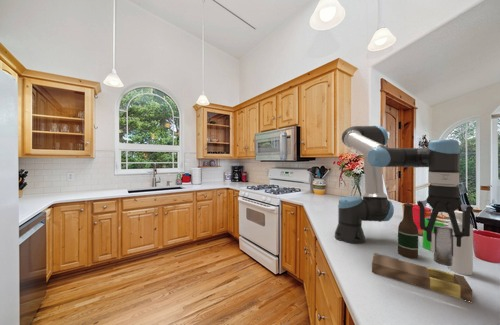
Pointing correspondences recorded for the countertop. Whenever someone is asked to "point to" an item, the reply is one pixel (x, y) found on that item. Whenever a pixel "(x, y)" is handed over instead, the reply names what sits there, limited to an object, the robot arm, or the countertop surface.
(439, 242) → the peg
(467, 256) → the white bottle
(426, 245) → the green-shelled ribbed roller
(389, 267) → the rail
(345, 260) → the countertop surface
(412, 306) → the countertop surface
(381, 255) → the mat
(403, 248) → the beer bottle
